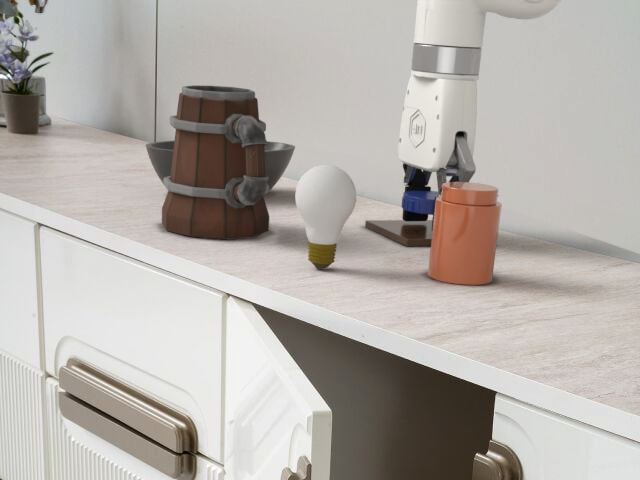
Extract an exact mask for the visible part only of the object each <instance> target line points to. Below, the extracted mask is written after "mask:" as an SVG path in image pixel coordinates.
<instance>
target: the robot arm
mask: <svg viewBox="0 0 640 480" xmlns="http://www.w3.org/2000/svg"><path fill="white" fill-rule="evenodd" d="M416 2H417V3H416V12H415V22H414V23H415V25H414V36H413V47H412V48H413V49H412V57H411V69H410V76H409V79H408V83H407V87H406V91H405V96H404V102H403V108H402V114H401V119H400V128H399V135H398V145H397V157H398V160H399V161H400V162H401V163H402V168H403V172H404V177H403V185H404V192H406V191H432V187H431V186H429V182H430V181H431V177H432V174H433V173H436V183H437V184H436V185H437V191H438V194H439V196H441V195H442V188H441V185H443V183H447V182H470V181H471V180H472V178H473V176H474V175H475V173H476V171H477V167H476V164H475V161H474V158H473V156H474V150H475V144H476V142H475V141H476V130H477V115H478V114H477V113H478V112H477V111H478V88H477V87H478V84H477V83H478V81H479V79H480V78H479V77H480V69H481V61H482V60H481V59H482V50H483V42H484V34H485V26H486V25H485V24H486V17H487V13H493V14H496V15H499V16H500V17H504V18H507V19H515V20H533V19H538V18H542V17H543V16H546V15H547V14H549V13H551V12H552V11H553V10H554V9H555V8H556V7H557V6H558V5H559V3H560V2H561V0H417V1H416ZM447 177H451V178H450V179H449V181H448V180H447ZM436 198H437V197H435V200H434V210H433V215H432V219H431V220H432V230H433V221H434V212H435V202H436ZM401 217H402V219H401V220H404V221H427V220H429V214H420V213H414V212H410V211H406V210H404V209H403V208H402V216H401Z"/></svg>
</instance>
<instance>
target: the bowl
mask: <svg viewBox="0 0 640 480" xmlns="http://www.w3.org/2000/svg"><path fill="white" fill-rule="evenodd" d="M174 141H175V139H173V140H162V141H154V142H153V141H152V142H149V143H146V144H145V148H146V151H147V155H148V158H149V160H150V163H151V165H152V167H153V169H154V171H155V173H156V175H157V176H158V178H159V180H160V181H161V183H162V184H163V179H164V177H168V176H170V175H171V166H172V158H173V149H174ZM266 141H267V145H266V146H264V149H265V175H267V176H268V177H269V180H268V182H267V184H268V185H269V192H271V190H272V189H273V188H274V187H275V185H277V183H278V182H279V181H280V180H281V178H282V176H283V175H284V173H285V171H286V170H287V168H288V166H289V164H290V162H291V160H292V157H293V155H294V152H295V150H296V146H295V145H293V144H289V143H285V142H279V141H278V142H277V141H268V140H266ZM266 195H267V194H264V195H263V196H266Z"/></svg>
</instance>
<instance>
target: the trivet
mask: <svg viewBox="0 0 640 480" xmlns="http://www.w3.org/2000/svg"><path fill="white" fill-rule="evenodd" d="M432 220H433V219H427V221H404V220H403V219H393V220H392V219H391V220H390V219H387V220H386V219H383V220H382V219H380V220H378V219H377V220H375V219H374V220H373V219H372V220H365V221H364V222H365V223H364V227H365V228H367V229H369V230H371V231H373V232H375V233H377V234H380V235H381V236H384V237H386V238H387V239H390V240H393V241H395V242H397V243H398V244H399V243H400V244H401V245H403V246H406V247H431V240H432Z"/></svg>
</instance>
